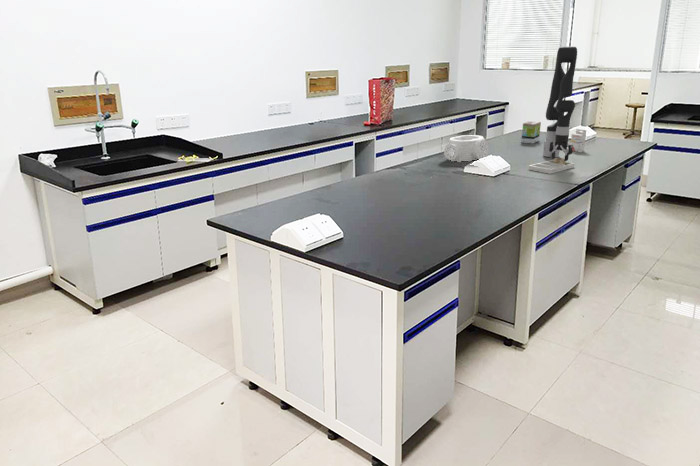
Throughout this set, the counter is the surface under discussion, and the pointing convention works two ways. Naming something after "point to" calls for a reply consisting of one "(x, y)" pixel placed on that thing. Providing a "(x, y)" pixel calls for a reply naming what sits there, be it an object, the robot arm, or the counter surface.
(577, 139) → the ink cartridge box
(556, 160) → the beech letter block
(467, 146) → the housing
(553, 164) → the divider frame
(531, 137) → the tea box
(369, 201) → the counter surface
